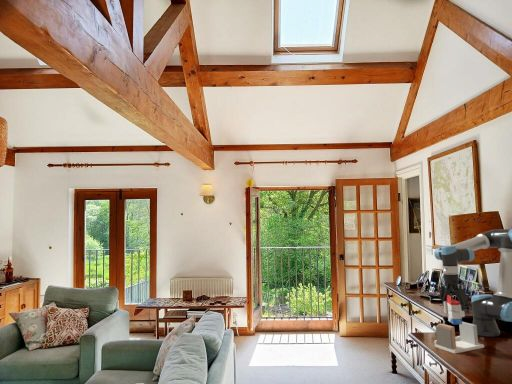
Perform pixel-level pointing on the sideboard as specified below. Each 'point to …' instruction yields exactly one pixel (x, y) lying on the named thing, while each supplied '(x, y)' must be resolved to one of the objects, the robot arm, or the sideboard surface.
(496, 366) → the sideboard surface
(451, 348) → the rack
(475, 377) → the sideboard surface
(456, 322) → the ink box
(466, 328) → the bookend
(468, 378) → the sideboard surface
